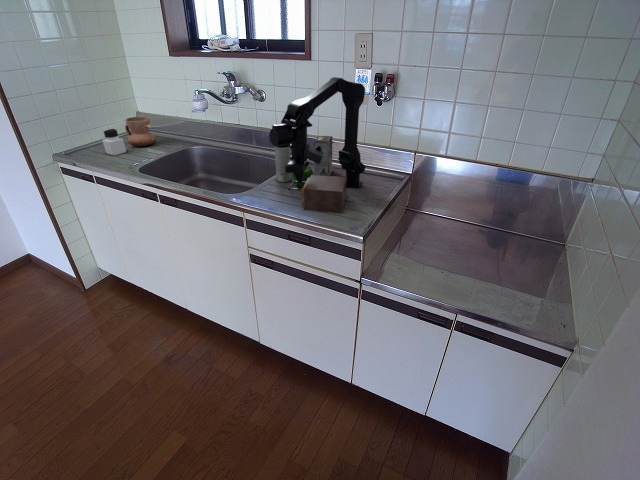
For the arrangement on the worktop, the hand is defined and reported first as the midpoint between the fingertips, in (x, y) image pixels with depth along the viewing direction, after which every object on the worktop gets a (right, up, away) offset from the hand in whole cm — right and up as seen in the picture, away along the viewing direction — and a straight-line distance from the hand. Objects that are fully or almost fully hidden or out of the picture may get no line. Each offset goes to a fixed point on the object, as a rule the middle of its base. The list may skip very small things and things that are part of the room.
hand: (300, 183), depth 136 cm
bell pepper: (0, +1, +17) cm, 17 cm away
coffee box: (+9, +8, +29) cm, 31 cm away
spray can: (-8, +5, +23) cm, 25 cm away
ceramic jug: (-92, +32, +69) cm, 119 cm away
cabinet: (+9, -7, +2) cm, 12 cm away
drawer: (+5, -6, +3) cm, 8 cm away
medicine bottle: (-99, +24, +57) cm, 117 cm away
